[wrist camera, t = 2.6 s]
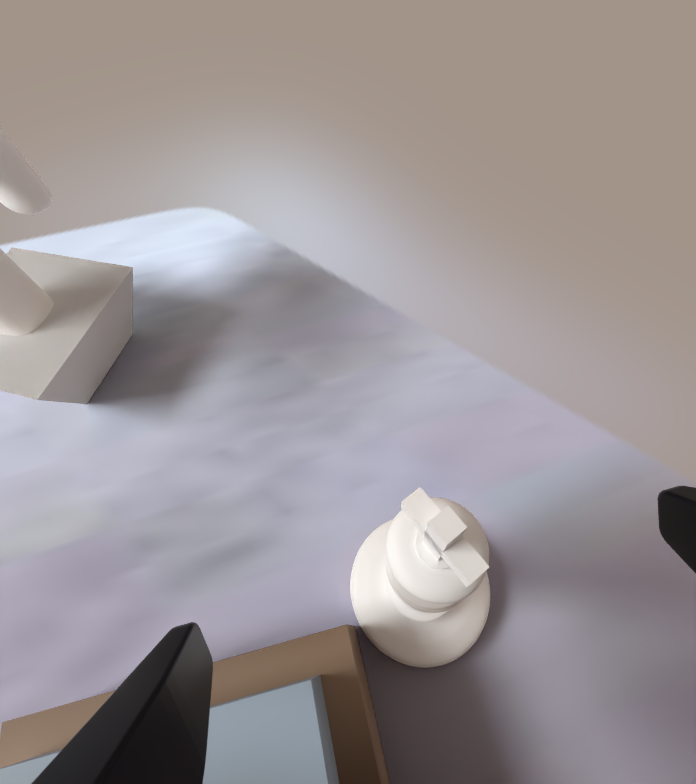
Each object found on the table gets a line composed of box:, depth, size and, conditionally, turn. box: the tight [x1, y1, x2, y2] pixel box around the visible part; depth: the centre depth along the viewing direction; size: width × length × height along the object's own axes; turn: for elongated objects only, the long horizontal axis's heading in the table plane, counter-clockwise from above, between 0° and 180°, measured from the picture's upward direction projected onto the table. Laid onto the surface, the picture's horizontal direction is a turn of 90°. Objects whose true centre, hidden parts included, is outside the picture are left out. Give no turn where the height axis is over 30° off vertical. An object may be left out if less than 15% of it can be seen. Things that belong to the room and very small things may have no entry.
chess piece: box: [350, 487, 490, 667], centre depth 11 cm, size 5×5×10 cm
